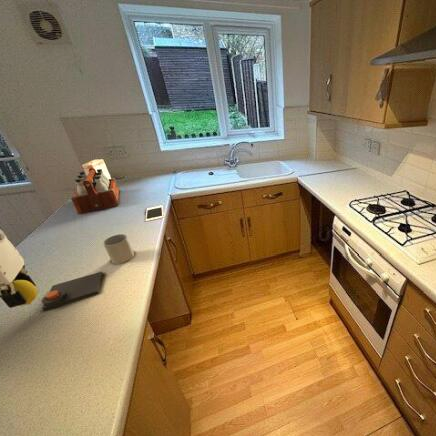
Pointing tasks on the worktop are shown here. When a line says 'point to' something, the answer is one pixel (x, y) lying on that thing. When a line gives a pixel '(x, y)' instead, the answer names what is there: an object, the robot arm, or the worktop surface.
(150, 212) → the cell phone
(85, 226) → the worktop surface
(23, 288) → the lemon
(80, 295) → the scale
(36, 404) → the worktop surface
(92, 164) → the coffeecake box
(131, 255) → the cup
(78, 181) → the milk bottle holder
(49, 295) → the tare button
